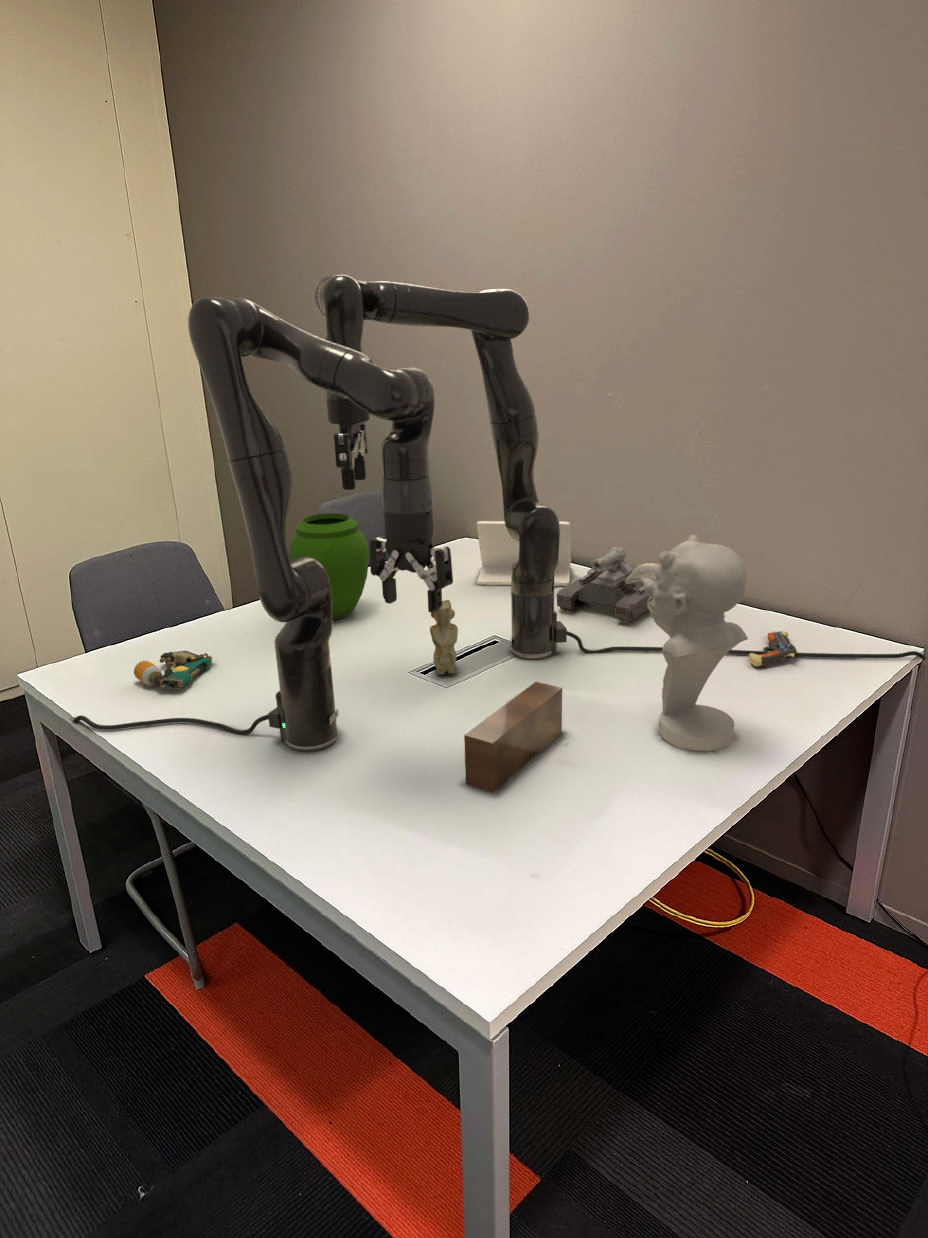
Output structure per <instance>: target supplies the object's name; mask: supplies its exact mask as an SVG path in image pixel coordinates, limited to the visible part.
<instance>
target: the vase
mask: <svg viewBox="0 0 928 1238" xmlns="http://www.w3.org/2000/svg"><path fill="white" fill-rule="evenodd" d="M358 524H359V523H358V521H356V520H355V519H353V518H352V517H350V516H349V515H347V514H344V513H335V512H334V513H333V512H331V513H320V514H313V515H310V516H307V517H305V518H303V519H302V520H301V521H300V522H299V523H298V524H297V525H296V526H295V532H296V533H295V534H294V536H293V537H292V538H291V540H290V542H289V550H288V554H289V558H290V560H293V559H296V558H299V557H311V558H314V559H315V560H317V561H318V562H319V563H320V564H321V565H322V566H323V567H324V569H325V571H326V573H327V575H328V578H329V582H330V587H331V598H332V620H336V619H341V618H345V617H347V616H349V615H350V614H351V613H352V612H353V611H354V610H355V608H356V607H357V605H358V604H359V601H360V599H361V597H362V595H363V592H364V588H365V586H366V581H367V578H368V570H369V562H370V560H369V559H370V547H369V545H368V541H367V537H366V535H365V534H364V533H363V532H362V531H361V530H360V529H359V527H358Z"/></svg>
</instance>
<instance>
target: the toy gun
mask: <svg viewBox="0 0 928 1238" xmlns="http://www.w3.org/2000/svg"><path fill="white" fill-rule="evenodd" d="M789 636H790V634H789V632H788V631H786V630H784V631H781V630H778V631H773V632H768V633H767V639H768V641H769V642H768V645H767V646H764V647H763V649H762V651H763V654H758V655H756V654H754V653H750V654H749V655H748V658H749V662H750V663H751V665H752V666H754V667H760V666H764V665H768V664H771V663H775V662H777V661H781V660H785V659H786V658H789V657H791V656H792V658H795V657H794V655H795V653H799V651H798V649H797V648H796V646H795V645H794V644H792V643H791V642H790V639H789V638H788V637H789ZM767 651H768V652H767Z"/></svg>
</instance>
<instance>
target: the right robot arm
mask: <svg viewBox="0 0 928 1238" xmlns="http://www.w3.org/2000/svg"><path fill="white" fill-rule="evenodd" d="M312 300H313V304H314V306H315V309H317V311H318V312H319V313H320V314H321V315H323V317H325V322H326V323H325V327H326V328H325V329H326V330H325V331H326V335H325V337H324V339H326V340H329V341H332V342H335V343H338V344H340V345H343V346H346V347H348V348H351V349H354V350H357V351H359V352H361V353H363V354H364V349H363V333H364V322H365V321H371V322H377V323H380V324H388V325H397V326H409V327H434V328H435V327H436V328H437V327H440V328H441V327H442V328H455V329H464V330H470V332H471V335H472V339H473V342H474V346H475V350H476V354H477V357H478V361H479V363H480V364H479V365H480V369H481V373H482V374H481V375H482V381H483V387H484V391H485V392H484V393H485V398H486V404H487V410H488V411H487V412H488V418H489V423H490V430H491V436H492V441H493V445H494V451H495V455H496V460H497V461H496V462H497V466H498V472H499V477H500V483H501V490H502V491H501V493H502V504H503V505H502V506H503V521H505V527H506V530H507V532H508V534H509V535H510V536H511V538H513V539H514V540H515V541H517V542H519V559H518V561H516V562H514V563H513V564H512V566H511V585H510V588H511V589H510V597H511V599H510V603H511V604H510V606H511V607H510V609H511V610H510V615H511V617H510V618H511V621H510V622H511V640H510V645H511V646H510V651H511V653H512V655H513V656H515V657H518V658H521V659H525V660H526V659H527V660H540V659H545V658H548V657H550V656H552V655H557V654H558V653H557V650H558V649H557V648H558V647H557V645H558V644H561V643H567V640H568V639H567V638H568V637H570V638H572V639H574V640H575V641H576V642H577V645H578V648H579V650H580V651H581V652H582V653H584V654H603V653H608V652H609V653H610V652H615V651H616V652H617V651H618V652H620V651H623V652H624V651H627V652H629V651H634V652H662V649H663V646H609V647H605V648H600V649H595V650H592V649H589V648H588V649H587V648H585V647H584V644H583V641H582V639H581V638H580V637H579V636H578V634H576V633H573V632H571V631H569V630H568V628H567V627H566V625H564V624H563V622H562V621H561V620H558V613H557V612H556V611H555V586H554V572H555V569H556V566H557V563H558V557H559V539H560V526H559V522H560V520H559V518H558V515H557V513H556V512H555V510H553V509H552V508H551V507H548V506H546V505H544V504H542V503H540V500H539V497H538V494H537V489H536V483H535V477H534V474H535V473H534V472H535V463H536V458H537V455H538V454H537V453H538V449H539V441H540V440H539V439H540V437H539V435H540V434H539V426H538V419H537V413H536V408H535V407H536V406H535V404H534V401H533V398H532V395H531V393H530V391H529V388H528V386H527V385H526V383H525V381H524V378H523V377H522V374H521V373H520V371H519V368H518V366H517V362H516V360H515V355H514V348H513V341H512V340H514V339H516V338H518V337H519V336H521V335H522V334H523V333H524V332H525V330H526V328H527V327H528V324H529V321H530V308H529V306H528V302H526V300H525V298H524V297H523V296H522V295H521V294H520V293H519V292H516V291H514V290H512V289H508V288H495V289H494V288H493V289H484V290H482V291H480V292H473V291H472V292H471V291H470V292H469V291H457V290H449V289H448V290H447V289H441V288H436V287H430V286H429V287H428V286H423V285H418V284H411V283H405V282H404V283H403V282H395V281H382V280H381V281H380V280H379V281H366V280H359V279H354V278H353V277H351V276H349V275H347V274H336V275H328V276H326V277H323V278H321V279H320V280H318V282H317V283H316V285H315V286H314V288H313V293H312ZM324 391H325V392H324V393H325V402H326V411H327V420H328V422H329V423H330V424H333V425H338V426H339V429H338V430H339V431H338V432H336V433H334V434H333V442H334V453H335V454H334V455H335V466H336V468H339V470H340V472H341V473H340V474H341V482H342V489H343V490H344V491H351V490H352V491H353V490H354V489H355V488H356V481H365V480H366V479H367V471H366V469H367V468H366V458H367V455H368V452H369V449H368V440H367V430H366V423H367V422H368V421H369V420H370V419H371V414H370V413H368V412H366V411H365V410H363V409H362V408H360V407H359V406H357V405H356V404H354V403H353V402H352V401H351V400H349V399H347V398H344V397H341V396H338V395H336V394H333V393H331V392H328V391H326V390H324ZM345 459H346V460H345ZM767 652H769V651H767ZM750 653H754V654H756V655H758V654H763V650H742V649H731V650H730V651H729V652H728V653H727V654H728V655H742V656H743V655H746V656H749V654H750ZM727 654H726V655H727ZM910 656H915V657H916V656H917V657H918V658H920V659H922V660H926V659H927V657H926V656H925V655H924V654H923V653H921V652H920V651H916V650H912V651H911V650H910V651H905V652H900V653H827V652H826V653H825V652H822V653H821V652H798V653H795V655H794V657H792V656H790V657H792V658H823V659H824V658H827V659H830V658H831V659H833V658H834V659H902V658H906V657H910Z"/></svg>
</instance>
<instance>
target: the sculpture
mask: <svg viewBox="0 0 928 1238" xmlns="http://www.w3.org/2000/svg"><path fill="white" fill-rule="evenodd" d="M455 615H456V611H455V609H453V608H452V602H451V601H450V599H445V600H442V607H441V608H440V609H439V610H438V611H437V612H435V613H431V612H430V617H431V618H432V619H433V620H434V621H435V622H436V623H435V624H433V625H431V626H429V633H430V636H431V640H432V641H431V642H432V643H433V645H434V648H435V649H434V652H433V656H432V657H433V659H432V660H433V665H434V667H435V668H436V671H437V674H438V675H445V674H446V672H447V673H448V674H455V673H456V666H457V665H456V663H457V652H456V649H455V644H456V643H457V642H458V637H459V635H458V634H459V627H458V626H457V624H455V623H453V622H451V621H452V620H453V619H454V618H455Z"/></svg>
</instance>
